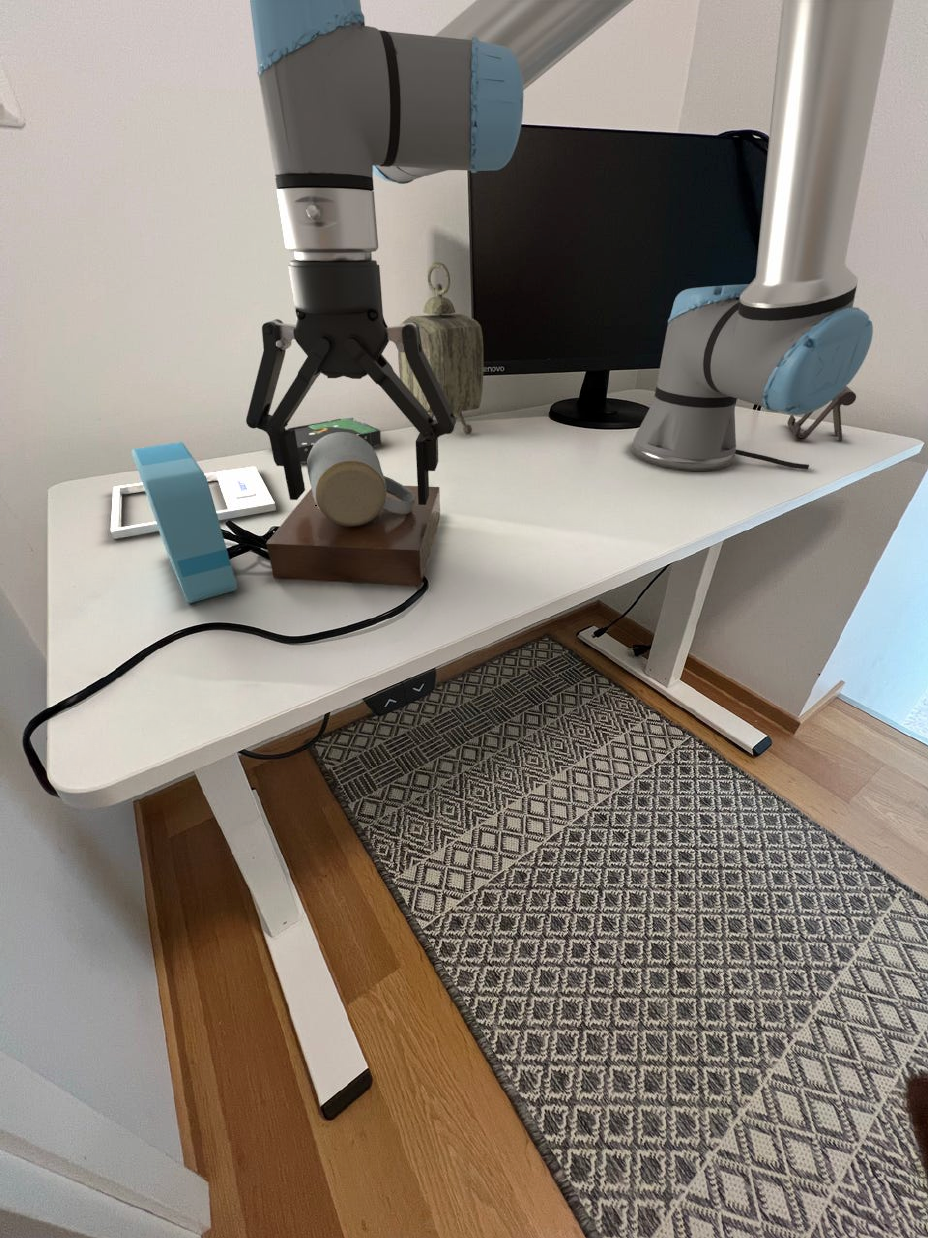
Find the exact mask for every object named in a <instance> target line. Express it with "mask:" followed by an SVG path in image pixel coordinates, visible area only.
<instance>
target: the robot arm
mask: <svg viewBox="0 0 928 1238" xmlns="http://www.w3.org/2000/svg"><path fill="white" fill-rule="evenodd" d="M633 1H634V0H475V1H474V2H472V3H471V4H469V6H468V7H466V8H465V9H464V10H463V11H462V12H461V13H460V14H458V15H456V17H454V19H452V20H451V21H450V22H449V23H448V24H446V25H445V26H444V27H443V28H441V29H440V30H439V31H438V32H437V33H436V34H435V35H426V34H416V33H407V32H397V31H387V30H381V29H379V28H377V27H374V26H369V25H366V22H365V15H364V13H363V12H362V5H361V0H249V4H250V10H251V13H250V14H251V21H252V29H253V30H252V31H253V37H254V38H253V39H254V46H255V54H256V55H255V57H256V64H257V71H256V74H257V78H258V82H259V88H260V94H261V101H262V106H263V112H264V118H265V124H266V131H267V136H268V142H269V149H270V156H271V162H272V167H273V173H274V177H275V178H274V179H275V186H276V194H277V195H276V196H277V200H278V206H279V207H278V208H279V213H280V220H281V226H282V232H283V240H284V246H285V249H286V250H287V251H288V252H290V253H291V252H292V253H293V254H294V259H292V260H289V264H288V266H287V268H288V273H289V280H290V281H289V282H290V286H291V287H290V288H291V291H292V292H291V293H292V299H293V306H294V310H295V315H296V318H295V324H291V323H284V322H283V321H282V320H281V319H279V318H276V319H272V320H270V321H266V322H265V323H263V324H262V327H261V335H262V345H263V346H262V347H263V351H262V355H261V358H260V363H259V367H258V372H257V375H256V379H255V383H254V387H253V391H252V395H251V399H250V403H249V407H248V410H247V415H246V418H245V422H246V426H248V427H249V428H250V429H258V430H261V431H263V432H265V433H266V434H267V435H268V437H269V438H268V439H269V442H270V443H269V444H270V447H271V451H272V452H271V453H272V458H273V462H274V463H275V465H276V467H283V471H284V475H285V481H286V486H287V490H288V491H287V493H288V497H289V500H290V501H298V500H299V498H300V497H301V496H302V495H303V494H304V493H305V492H306V486H305V482H304V481H305V480H304V475H303V470H302V469H303V468H302V463H300V457H299V451H298V446H297V440H296V434H295V429H288V428H286V427H287V426H289V422H290V420H291V419H292V417H293V416H294V414H295V413H296V411H297V409H298V408H299V407H300V405H301V403H302V402H303V400H304V399H305V397H306V396H307V394H308V392H309V391H310V390H311V388H312V387H313V385H314V383H315V382H316V380H317V379H318V377H319V376H320V374H322V375H324V376H326V377H327V379H338V378H342V377H345V378H349V379H352V380H361V379H362V378H364V377H366V376H368V377H370V379H371V380H372V381H373V382H374V383H375V384H376V385H378V386H379V387H380V388H381V389H382V390H383V392H385V394H386V395H387V396H388V397H389V398H390V399H391V401H392V402H393V403H394V404H395V405H396V406H397V407H398V409H399V411H400V412H401V413H402V414H404V416H405V417H406V419H407V420H408V421H409V422H410V423H411V425H413V427H414V428H415V429H416V430H417V432H418V433H419V434H418V435H417V437H416V439H415V458H416V459H415V461H416V481H417V483H416V484H417V486H418V505H426V503H427V500H428V497H429V487H430V478H429V476H430V474H429V472H435V471H436V469H437V467H438V464H439V438H440V437H441V436H444V435H450V434H452V433H453V432H454V429H455V427H456V423H457V417H456V415H455V414H453V412H452V410H451V408H450V406H449V403H448V401H447V399H446V397H445V395H444V393H443V391H442V389H441V387H440V385H439V383H438V381H437V378H436V376H435V374H434V372H433V370H432V368H431V366H430V364H429V362H428V360H427V358H426V356H425V353H424V351H423V349H422V344H421V337H420V330H419V326H418V324H417V323H416V322H413V321H411V322H409V323H408V324H406V325H400V324H399V325H400V326H399V325H393V326H388V324H387V322H386V320H385V318H384V312H383V311H384V310H383V309H384V308H383V298H382V297H383V295H382V283H381V269H380V264H378V262H377V261H378V260H375V259H373V256H372V255H373V254H372V253H373V252H377V250H378V249H379V239H378V227H377V226H378V225H377V215H376V214H377V213H376V202H375V188H374V177H373V176H374V175H376V176H377V177H378V178H380V179H382V180H384V181H387V182H391V183H396V184H399V185H404V184H409V183H411V182H413V181H414V180H417V179H420V178H423V177H427V176H431V175H436V174H439V173H442V172H446V171H466V172H467V171H470V173H471V174H476V173H477V172H481V171H482V172H484V171H487V172H488V171H499V170H502V169H503V168H504V167H506V166H507V165H508V163H509V162H510V161H511V159H512V158H513V155H514V153H515V150H516V147H517V145H518V142H519V138H520V135H521V129H522V122H523V117H524V116H523V115H524V91H525V90H526V89H527V88H528V87H530V86H531V85H532V84H533V83H535V82H536V81H537V80H538V79H539V78H541V77H542V76H544V74H545V73H547V72H548V71H549V70H550V69H552V68H553V67H554V66H555V65H556V64H558V63H559V62H560V61H561V60H563V59H564V58H565V57H566V56H567V55H569V54H570V53H571V52H572V51H573V50H575V49H576V48H577V47H578V46H580V45H581V44H582V43H583V42H584V41H586V40H587V39H588V38H589V37H591V36H592V35H593V34H594V33H595V32H597V31H598V30H599V29H601V27H603V26H604V25H605V24H606V23H608V22H609V21H610V20H611V19H612V18H614V17H615V16H616V15H617V14H618V13H620V12H621V11H622V10H623V9H625V8H626V7H627V6H628V5H629V4H631V3H632V2H633ZM894 2H895V0H782V3H781V13H780V15H781V16H780V23H779V34H778V43H777V44H778V45H777V54H776V64H775V74H774V83H773V84H774V85H773V93H772V94H773V96H772V104H771V105H772V106H771V115H770V126H769V136H768V147H767V156H766V168H765V178H764V186H763V187H764V188H763V198H762V209H761V218H760V227H759V228H760V229H759V238H758V248H757V249H758V250H757V260H756V270H755V277H754V278H753V280H752V281H751V282H750V283H748V284H747V283H745V284H744V283H743V284H726V285H712V286H711V285H710V286H701V287H691V288H686V289H684V290H681V291H680V292H679V293H678V294H677V295H676V296H675V299H674V301H673V305H672V308H671V312H670V315H669V318H668V319H667V327H666V333H665V337H664V338H665V339H664V343H663V349H662V353H661V360H660V365H659V370H658V376H657V380H656V387H655V392H654V395H653V396H654V397H653V401H652V403H651V404H650V407H649V409H648V410H647V413H646V414H645V416H644V418H643V420H642V422H641V424H640V426H639V428H638V430H637V432H636V433H635V436H634V438H633V442H632V448H631V451H632V453H633V455H634V456H635V457H637V458H639V459H640V460H642V461H644V462H647V463H649V464H651V465H655V466H659V467H663V468H667V469H673V470H681V471H689V472H690V471H693V472H704V471H705V472H706V471H715V470H720V469H724V468H726V467H729V466H730V465H732V463H733V461H734V458H735V455H738V456H742V457H745V458H750V459H755V460H759V461H763V462H767V463H771V464H775V465H778V466H783V467H785V468H786V467H787V468H791V469H800V470H809V468H810V464H806V463H797V462H791V461H787V460H783V459H782V460H781V459H778V458H775V457H771V456H767V455H763V454H759V453H755V452H750V451H746V450H742V449H737V435H736V414H735V409H736V404H737V401H738V400H740V401H743V402H746V403H749V404H753V405H756V406H759V407H763V408H764V409H765V410H767V411H769V412H772V413H773V412H774V413H775V412H776V413H778V412H779V413H784V414H787V415H793V416H801V415H802V416H804V415H805V414H807V413H810V412H813V411H814V412H816V411H817V410H820V409H821V408H823V407H825V406H826V405H828V404H829V403H831V402H832V400H833V399H834V398H835V397H836V396H837V395H839V394H840V393H841V392H842V390H843V389H844V388H845V386H848V385H849V384H850V383H851V382H852V381H853V379H854V378H855V376H856V375H857V374H858V372H859V370H860V369H861V367H862V365H863V363H864V361H865V360H866V358H867V356H868V353H869V350H870V348H871V344H872V341H873V334H874V326H873V322H872V320H870V316H869V314H867V312H866V311H864V310H862V309H860V307H855V306H854V303H855V298H856V292H857V286H858V283H859V278H858V276H857V275H856V274H855V273H853V271H852V270H851V269H849V267H847V264H846V259H847V254H848V250H849V244H850V239H851V232H852V227H853V223H854V218H855V217H854V216H855V211H856V206H857V201H858V195H859V189H860V185H861V179H862V174H863V167H864V163H865V158H866V153H867V147H868V142H869V141H868V140H869V137H870V132H871V127H872V126H871V125H872V121H873V120H872V119H873V115H874V110H875V104H876V99H877V93H878V87H879V83H880V77H881V71H882V66H883V61H884V55H885V49H886V45H887V39H888V34H889V33H888V32H889V29H890V24H891V18H892V13H893V8H894ZM293 340H295V342H296V343H297V345H298V346H299V347H300V348H301V350H302V351H303V352H304V354H305V355H306V356H307V357H306V359H305V360H304V362H303V363H302V365H301V367H300V368H299V370H298V371H297V375H296V376H295V378H294V379H293V381H292V383H291V385H290V386H289V388H288V390H286V392H285V394H284V395H283V397H282V399H281V400H280V402H279V404H278V405H277V407H276V408H275V410H274V412H273V414H270V411H271V407H272V403H273V400H274V396H275V393H276V390H277V385H278V382H279V380H280V379H279V378H280V375H281V372H282V367H283V364H284V361H285V356H286V352H287V351H286V350H288V349H289V348H290V347H291V346H292V343H293ZM389 342H393V344H394V345H395V346H396V349H397V351H398V350H399V351H400V352H405V355H406V358H407V361H408V363H409V366H410V368H411V370H412V372H413V374H414V376H415V378H416V380H417V382H418V384H419V386H420V388H421V390H422V392H423V394H424V396H425V398H426V400H427V402H428V404H429V406H430V408H431V410H432V412H433V414H434V417H435V418H434V417H433V418H432V417H431V416H430V413H428V412H427V411H426V410H425V408H424V407H423V406H422V405H421V404H420V402H419V401H418V400H417V399H416V397H415V396H414V395H413V394H412V393H411V391H410V390H409V389H408V388H407V387H406V385H405V384H404V383H403V382H402V381H401V379H400V376H399V375H397V373H396V372H395V371H394V368H393V366H392V365H391V363H390V362H389V361H388V360H387V359H386V358H385V356H384V355H383V353H384V351H385V349H386V347H387V346H388V344H389ZM814 412H813V413H814ZM285 429H287V430H285Z"/></svg>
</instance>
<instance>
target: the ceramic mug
mask: <svg viewBox="0 0 928 1238" xmlns="http://www.w3.org/2000/svg"><path fill="white" fill-rule="evenodd" d="M306 468H307V474H308V478H309V484H310V489H311V488H312V493H313V497H314V500H315V503H316V505H317V507H318V508H319V509H320V511H321V512H322V514H323V515H324V516H325V517H326V518H328V519H329V520H330V521H332V522H334V523H336V524H338V525H342V526H347V527H350V526H360V525H363V524H366V523H368V522H370V521H371V520H373V519H374V518H375V517H376V516H377V515H378V514H379V513H380V511H381V510H385V511H387V512H390V513H395V514H408V513H409V512H410V511H411V510H412V507H413V505H414V502H415V497H414V495H413V493H412V492H411V491H410V490H409V489H407V488H406V487H405V486H406V485H403V484H402V483H400V482H398V481H397V480H394V479H393V478H391V477H389V476H385V475H384V473H383V470H382V466H381V462H380V460H379V457H378V455H377V452H376V451H375V449H374V447H372V446H371V445H370V444H369V443H368V442H367V441H365V440H364V439H363V438H361V437H359V436H357V435H355V434H351V433H348V432H336V433H332V434H328V435H326V436H324V437H322V438H321V439H320V440H318V441H317V442H316V443H315V444H314V446H313V447H312V449H311V451H310V453H309V456H308V460H307V462H306ZM386 492H388V493H390V494H392V495H394V496H395V497H397V498H399V499H400V500H397V499H393V498H389V497H387V495H386ZM401 500H402V501H401Z"/></svg>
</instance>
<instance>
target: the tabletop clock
mask: <svg viewBox="0 0 928 1238" xmlns="http://www.w3.org/2000/svg"><path fill="white" fill-rule="evenodd" d="M437 268H438V269H442V271H443V272H444V274H445V277H446V286H445V287H444V288H443V285H442V284H441V283H436V284H435V285H434V286H433V284H432V281H431V279H432V278H431V277H432V273H433V271H434V269H437ZM427 284H428V287H429V290H431V291H432V293H433V294H435V296H434V297H430V298H429V299H428V300H426V302H425V304H424V306H423V310H422V313H423V314H427V315H411V316H409V317H407V318H405V320H404V321H403V322H401V323H400V324H399V325H398V326H400V325H406V324H408V323H409V322H411V321H413V322H416V323H417V324H418V326H419V330H420V337H421V344H422V349H423V351H424V353H425V356H426V358H427V360H428V362H429V364H430V366H431V368H432V370H433V372H434V374H435V376H436V378H437V381H438V383H439V385H440V387H441V389H442V391H443V393H444V395H445V397H446V399H447V401H448V403H449V406H450V408H451V410H452V412H453V414H454V416H455V417H456V418H458V420H459V421H460V423H461V424H462V425H463V428H462V432H463V434H465V435H470V434H472V432H473V427H472V425H470V424H467V423H466V420H465V418H464V416H463V413H462V412H467V411H468V412H469V411H475V410H479V409H480V407H481V403H482V396H483V387H484V373H485V372H484V371H485V366H484V365H485V363H484V362H485V361H484V357H485V356H484V355H485V354H484V336H483V330H482V326H481V325H480V323H479V321H477V320H476V319H474V318H472V317H469V316H468V315H465V314H462V313H457V312H456V308H455V307H454V304H453V302H452V301H451V300H450V299H449V298H448V297H445V296H444V295H445V294H446V293H448V292H449V289H450V287H451V275H450V272H449V269H448V267H447V266H446V265H445V264H444V263H442V262H436V261H435V262H433V263H432V264H431V265H430V266H429V269H428V271H427ZM397 356H398V357H397V358H398V359H397V360H398V369H399V370H398V371H399V372H398V373H399V378H400V379H401V381H402V382H403V383H404V384H405V385H406V387H407V388H408V389H409V390H410V391H411V393H412V394H413V395H414V396H415V397H416V399H417V400H418V401H419V402H420V404H421V405H422V406H423V407H424V408H425V410H426V411H427V412H428V413H429V414H430V416H431V417H432V418H433V419H434V417H435V416H434V414H433V412H432V410H431V408H430V406H429V404H428V402H427V400H426V398H425V396H424V394H423V392H422V390H421V388H420V386H419V384H418V382H417V380H416V378H415V376H414V374H413V372H412V370H411V368H410V366H409V363H408V361H407V358H406V355H405V352H400V351H399V350H398V349H397Z"/></svg>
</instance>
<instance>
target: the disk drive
mask: <svg viewBox="0 0 928 1238" xmlns="http://www.w3.org/2000/svg"><path fill="white" fill-rule="evenodd" d="M287 429H295V434H296V440H297V446H298V451H299V457H300V463H301V464H303V463H307V460H308V456H309V453H310V451H311V449H312V447H313V446H314V444H315V443H316V442H317V441H318V440H320V439H321V438H322V437H324V436H326V435H328V434H332V433H336V432H348V433H351V434H355V435H357V436H359V437H361V438H363V439H364V440H365V441H367V442H368V443H369V444H370V445H371V446H372V448H375V447H378V446H382V435H381V429H378V428H376V427H373V426H372V425H369V424H368V423H366V422H363V423H362V422H360V421H357V419H356V420H355V419H354V417H346V418H337V419H333V420H332V419H331V420H327V421H322V422H321V421H320V422H316V423H310V424H305V425H299V426H293V427H288V428H285V430H287Z"/></svg>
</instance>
